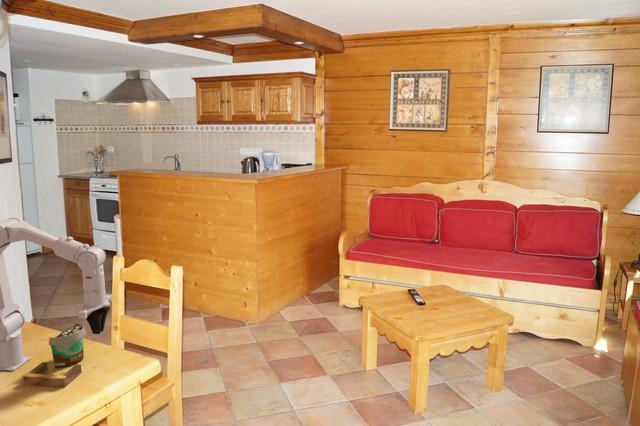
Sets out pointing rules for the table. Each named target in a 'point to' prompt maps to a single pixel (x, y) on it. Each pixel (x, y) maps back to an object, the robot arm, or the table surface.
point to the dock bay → (50, 376)
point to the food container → (68, 346)
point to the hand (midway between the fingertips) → (98, 332)
